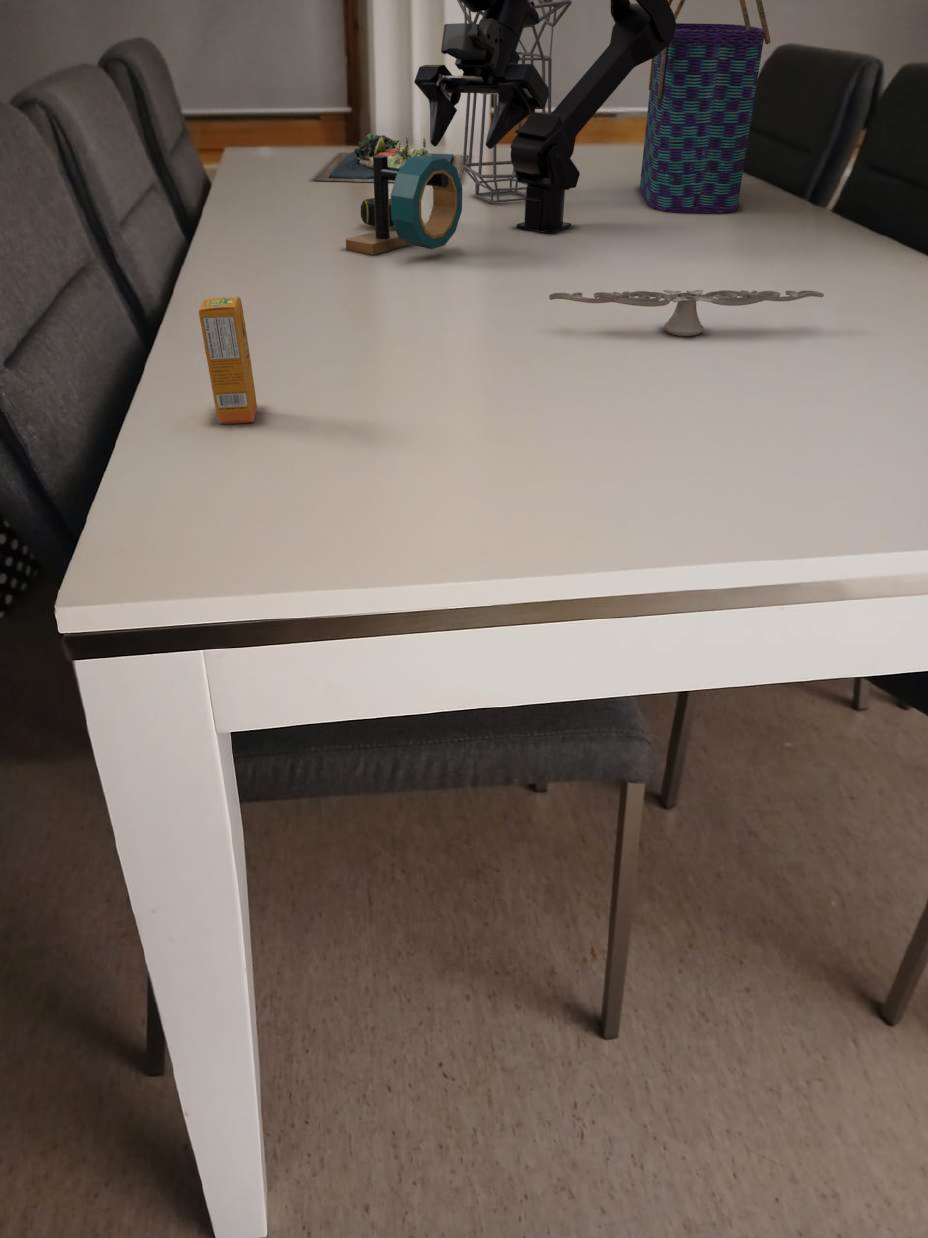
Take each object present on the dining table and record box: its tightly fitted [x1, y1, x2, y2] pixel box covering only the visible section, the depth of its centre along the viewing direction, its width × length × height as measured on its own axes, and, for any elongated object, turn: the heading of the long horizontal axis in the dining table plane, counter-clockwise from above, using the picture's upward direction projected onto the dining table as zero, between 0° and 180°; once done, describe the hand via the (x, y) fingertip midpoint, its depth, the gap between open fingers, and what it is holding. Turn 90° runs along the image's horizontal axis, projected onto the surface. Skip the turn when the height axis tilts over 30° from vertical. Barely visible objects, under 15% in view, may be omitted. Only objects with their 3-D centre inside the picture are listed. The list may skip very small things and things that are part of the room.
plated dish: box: [314, 132, 468, 183], centre depth 194 cm, size 35×28×7 cm
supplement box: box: [198, 296, 258, 425], centre depth 82 cm, size 3×3×10 cm
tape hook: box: [373, 155, 449, 239], centre depth 132 cm, size 2×12×12 cm, turn 55°
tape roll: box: [390, 156, 463, 250], centre depth 130 cm, size 11×4×11 cm, turn 145°
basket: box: [639, 0, 771, 215], centre depth 161 cm, size 26×18×40 cm
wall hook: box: [548, 289, 825, 337], centre depth 106 cm, size 5×30×4 cm, turn 94°
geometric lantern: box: [456, 0, 573, 204], centre depth 160 cm, size 16×16×35 cm
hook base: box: [345, 230, 409, 256], centre depth 138 cm, size 8×5×2 cm, turn 145°
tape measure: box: [360, 197, 394, 228], centre depth 149 cm, size 7×7×4 cm
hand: (460, 145), depth 130 cm, fingers open, 9 cm apart
